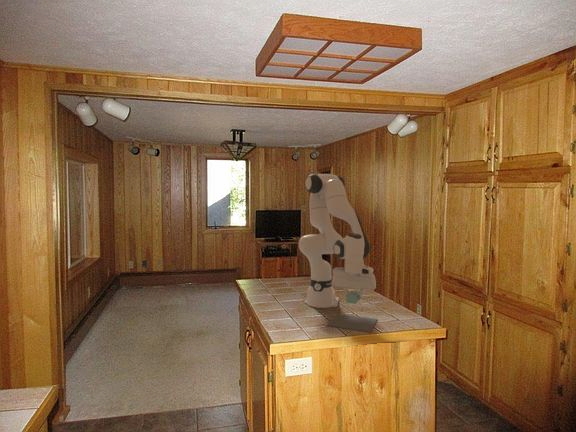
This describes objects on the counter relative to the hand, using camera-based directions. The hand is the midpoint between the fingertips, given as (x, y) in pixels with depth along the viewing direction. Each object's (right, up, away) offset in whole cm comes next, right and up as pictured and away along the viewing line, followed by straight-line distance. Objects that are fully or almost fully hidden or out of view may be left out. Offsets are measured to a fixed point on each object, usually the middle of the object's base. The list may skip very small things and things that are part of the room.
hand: (353, 297), depth 180 cm
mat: (0, -12, +1) cm, 12 cm away
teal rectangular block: (0, -2, 0) cm, 2 cm away
